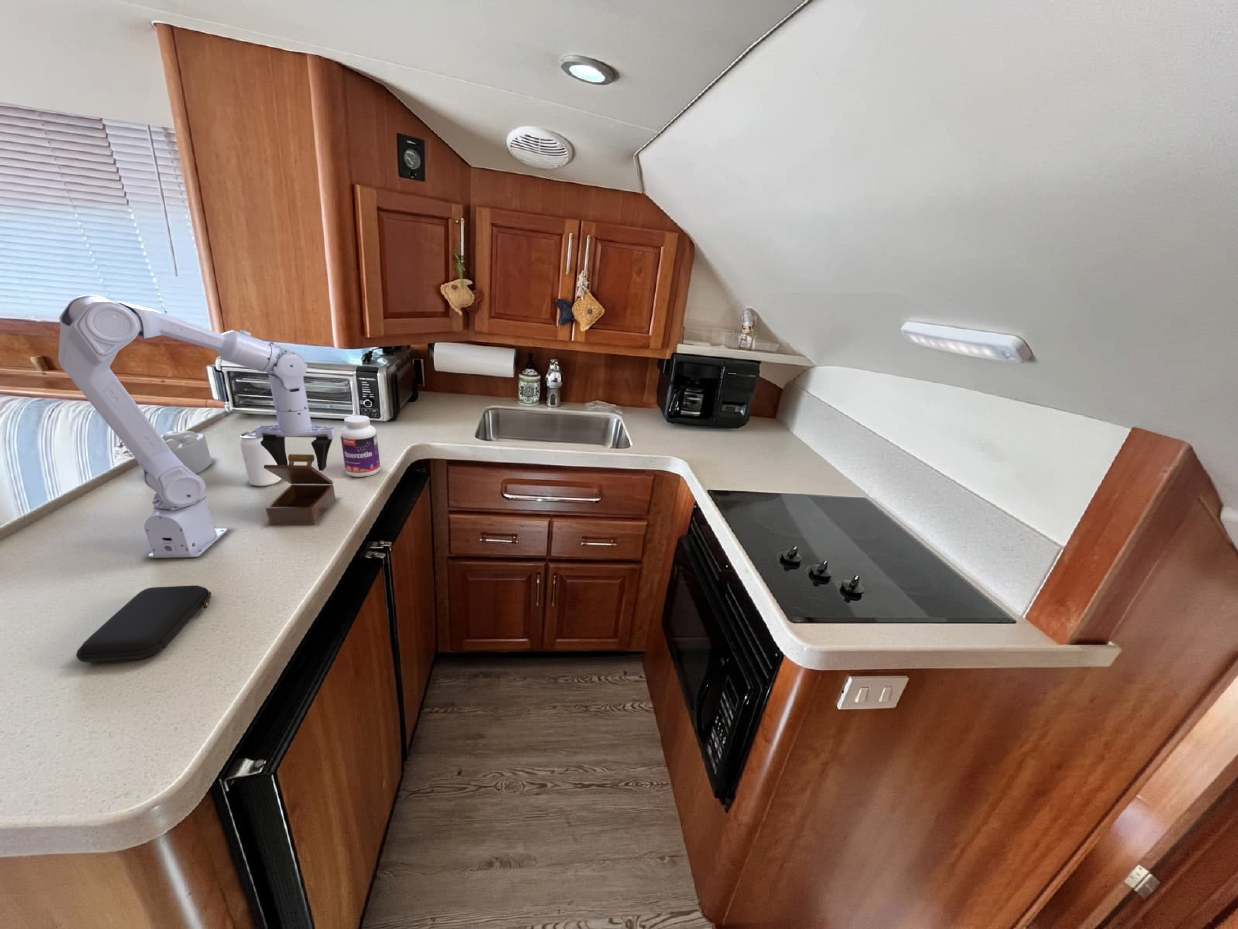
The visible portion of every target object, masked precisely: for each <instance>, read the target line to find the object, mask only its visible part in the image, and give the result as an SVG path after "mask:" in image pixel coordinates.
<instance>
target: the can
mask: <svg viewBox="0 0 1238 929" xmlns="http://www.w3.org/2000/svg"><path fill="white" fill-rule="evenodd" d="M262 440H263V437H262V438H257V436H256V431H255V429H254V430H248V431H245V432H243V433H241V434H240V439H239V446H240V451H241V455H242V458H243V463H244V467H245V471H246V476H247V480H248V483H249V484H250V485H252V486H253V487H268V486H273V485H275V484H277V483H279V482H281V480H282V478H280V477H278V476H276V475H275V474H273V473H271V472H270V471H268V470H266V469H265V468H264V465H277V463H276V462H275V460H274V458H273V457H272V456H271V454H270V453H269V452H268V451H267V450H266V449H265V448H264V447H263V446H262V445H261V441H262Z"/></svg>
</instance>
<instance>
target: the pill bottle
mask: <svg viewBox="0 0 1238 929" xmlns="http://www.w3.org/2000/svg"><path fill="white" fill-rule="evenodd" d="M343 422H344V427H342V428H341V430H340V433H339V434H340V435H339V436H340V441H341V442H340V443H341V448H342V458H343V463H344V469H345V470H344V471H345V473H346V474H347V475H349V476H351V477H355V478H365V477H370V476H373V475H376V474H377V473H379V471H380V470H381V460H380V453H379V442H378V432H377V429H376V428H375V426H373V425H371V420H370V417H369V416H367V415H361V414H360V415H359V414H358V415H357V414H356V415H351V416H347V417H345V418H344V421H343Z"/></svg>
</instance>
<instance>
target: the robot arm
mask: <svg viewBox="0 0 1238 929" xmlns="http://www.w3.org/2000/svg"><path fill="white" fill-rule="evenodd" d="M58 320H59V327H60V328H59V329H60V330H59V343H58V354H57V355H58V356H57V359H58V360H57V361H58V363H59V365H60V368H62V369H63V371H64V372H65V373H66V374H67V376H68V377H69V378H70V379H71V380H72V382H73V383H74V385H75V386H76V387H77V388H78V389H79V390H80V392H81V393H82V394H83V395H84V397H85V398H86V399H87V400H88V402H89V403H90V404H91V405H92V406H93V408H94V409H95V410H96V412H97V413H98V414H99V415H100V417H101V418H102V419H103V420H104V421H105V423H106V424H107V425H108V427H109V428H110V429H111V430H112V431H113V432H114V434H115V435H116V437H118V439H119V440H120V441H121V442H122V444H123V445H124V446H125V448H126V449H127V450H128V451H129V452H130V454H131V455H132V456H133V457H134V458H135V460H136V462H137V464H138V465H139V466H140V467H141V469H142V471H143V480H144V483H145V484H146V486H147V487H149V488H150V489H151V490H153V491H154V492H155V494H154V496H153V499H152V505H153V511H152V512H151V515H150V516H149V517H148V518H147V519H146V521H145V523H144V525H143V526H144V528H143V529H144V532H145V535H146V537H147V540H148V543H149V546H150V550H151V552H150V553H149V554H147V556H148V558H149V559H150V558H153V559H154V558H157V559H158V558H159V559H160V558H165V559H166V558H197V557H198V558H199V557H200V556H201V555H202V554H203V553H204V552H205V551H206V550H208V548H210V547H211V546H213V544H215V543H216V542H217V541H218V540H219V539H220V538H221V537H222V536H224V535H225V534H226V533H227V532H228V528H225V527H224V528H221V527H220V528H216V527H215V524H214V520H213V516H212V513H211V510H210V505H209V502H208V499H207V496H206V490H207V485H206V482H205V480H204V479H203V478H202V477H201V476H200V475H198V474H197V473H196V474H194V473H193V472H192V471H191V470H189V469H188V468H187V466H186V465H185V464H184V463H182V462H181V461H180V460H179V459H178V458H177V457H176V456H175V454H174V453H173V452H172V451H171V450H170V448H169V447H168V446H167V444H166V443H165V442H164V440H163V439H162V438H161V436H160V434H159V431H157V430H156V428H155V427H154V425H153V424H152V423H151V421H150V420H149V418H148V417H147V416H146V415H145V413H144V412H143V410H141V408H140V407H139V405H138V404H137V403H136V401H135V400H134V399H133V398H132V396H131V395H130V393H129V392H128V391H127V389H126V388H125V387H124V385H123V384H122V383H121V381H120V379H118V377H117V376H116V375H115V373H114V372H113V370H112V369H111V365H112V363H113V362H114V360H115V358H116V356H117V355H118V353H119V351H121V350H122V349H123V348H124V347H126V346H127V345H129V344H130V343H131V342H133V341H134V340H135V339H136V338H137V337H141V338H142V339H150V338H155V337H160V336H164V337H168V338H172V339H176V340H179V341H182V342H186V343H189V344H193V345H196V346H200V347H203V348H206V349H209V350H210V349H211V350H213V351H216V353H217V354H218V355H219V357H220V358H221V360H223V361H225V362H228V363H232V364H234V365H238V366H241V367H243V368H244V367H245V368H247V369H251V370H254V371H258V372H261V373H267V374H268V378H269V383H270V390H271V395H272V400H273V405H274V411H275V415H276V420H277V424H274V425H273V424H271V425H259V426H257V427H255V428H254V430H255V431H256V436H257V438H262V437H263V440H262V441H261V445H262V446H263V447H264V448H265V449H266V450H267V451H268V452H269V453H270V454H271V456H272V457H273V458H274V460H275V462H276V463H277V465H289V460H288V456H287V452H286V438H311V439H314V440H312V441H311V443H310V444H311V446H312V448H313V451H314V454H315V458H316V464H317V468H318V469H317V470H318V471H319V472H323V471H324V470H325V469H327V460H328V454H329V451H330V448H331V445H332V442H333V440H334V439H335V438H336V437H337V430H336V427H331V426H323V425H316V424H312V421H311V420H312V419H311V414H310V408H309V402H308V397H307V391H306V385H305V380H304V377H305V375H306V373H307V370H308V363H306V362H305V360H304V358H303V357H302V356H301V355H300V354H299V353H298V352H296V351H293V350H290V349H288V348H284V347H282V346H281V345H279V343H278V342H275V341H272V340H271V341H270V342H268V341H265V340H262V339H259V338H256V337H254V336H251V335H252V333H251V332H248V331H246V330H243V329H240V330H239V331H236V330H229V331H226V332H223V333H220V332H217V331H213V330H211V329H208V328H205V327H202V326H200V325H197V324H195V323H192V322H189V321H186V320H183V319H182V318H178V317H174V316H172V315H169V314H168V313H164V312H161V311H158V310H156V309H152V308H148V307H144V306H140V305H136V304H133V303H128V302H124V301H119V300H117V301H116V302H115V301H112V300H110V299H109V298H106V297H103V296H100V295H95V294H84V295H80V296H76V297H75V298H73V299H72V300H70V302H69V303H68V304H67V306H66V307H65V308H64V310H63V311H62V312H61V314H60V315H59V318H58Z"/></svg>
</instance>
